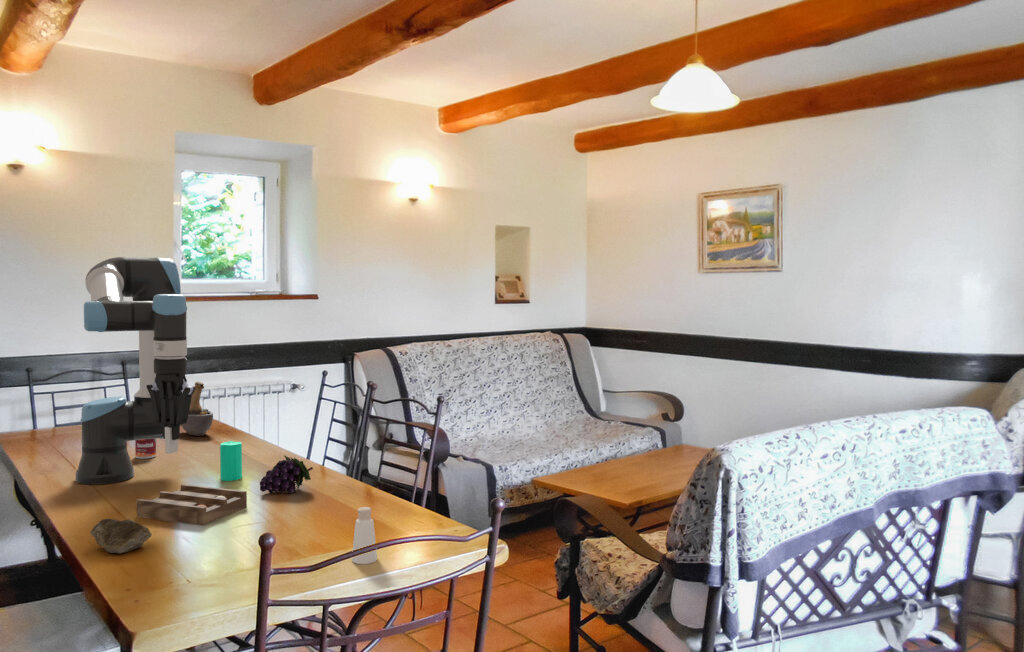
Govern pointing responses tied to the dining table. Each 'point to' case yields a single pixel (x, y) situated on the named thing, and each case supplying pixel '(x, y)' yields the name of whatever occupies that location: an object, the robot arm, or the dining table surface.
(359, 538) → the pepper shaker
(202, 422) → the grey mortar and pestle
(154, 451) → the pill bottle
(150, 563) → the dining table surface
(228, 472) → the candle
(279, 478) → the fruit
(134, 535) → the stone
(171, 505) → the board
